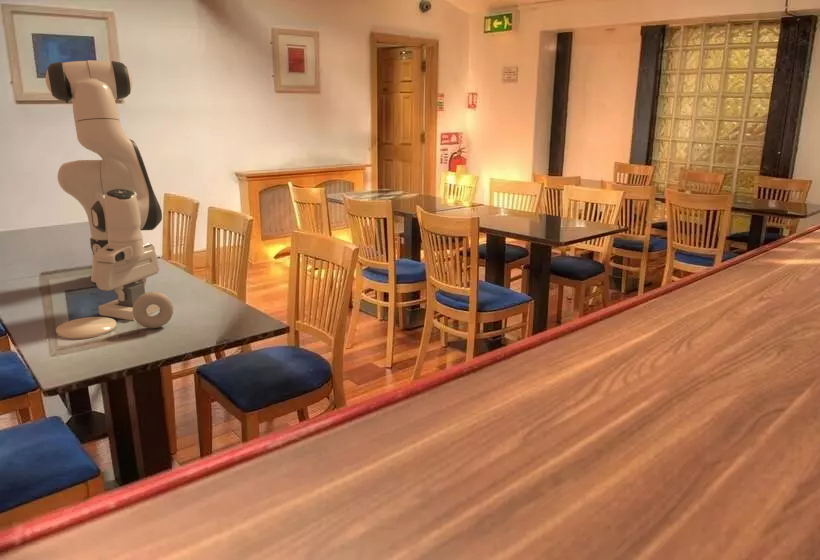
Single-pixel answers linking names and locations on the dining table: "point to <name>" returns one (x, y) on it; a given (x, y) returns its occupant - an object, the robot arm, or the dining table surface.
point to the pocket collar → (122, 310)
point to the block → (132, 293)
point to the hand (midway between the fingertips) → (131, 297)
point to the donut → (150, 299)
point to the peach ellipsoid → (86, 327)
